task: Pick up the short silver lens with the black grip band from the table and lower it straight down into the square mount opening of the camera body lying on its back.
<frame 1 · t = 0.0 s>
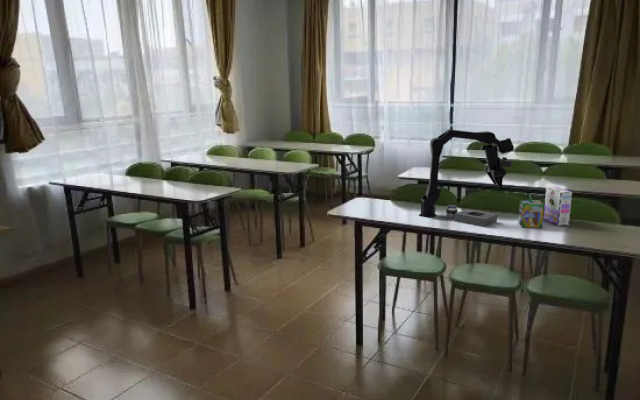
hand: (498, 186, 247), 15 cm above the table, tool pointing down, fingers open, 9 cm apart
lens: (451, 217, 249), on the table
camera body: (475, 221, 241), on the table
chalk box: (529, 225, 233), on the table
candy box: (555, 222, 238), on the table
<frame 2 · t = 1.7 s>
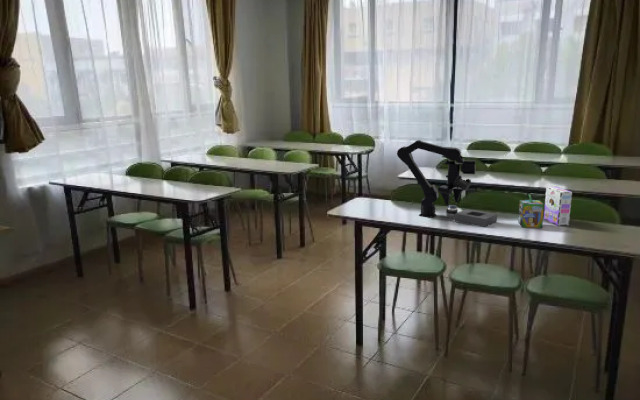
hand: (451, 203, 248), 7 cm above the table, tool pointing down, fingers open, 9 cm apart
nothing on the table moved.
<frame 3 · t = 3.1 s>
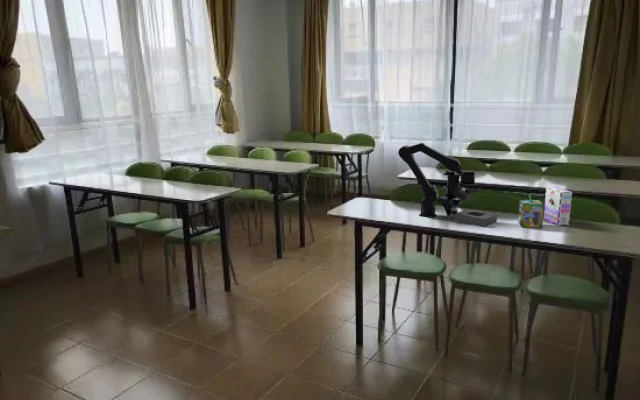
hand: (451, 214, 249), 2 cm above the table, tool pointing down, fingers closed on lens, 6 cm apart
lens: (451, 217, 249), on the table, touching gripper
everything else where it was.
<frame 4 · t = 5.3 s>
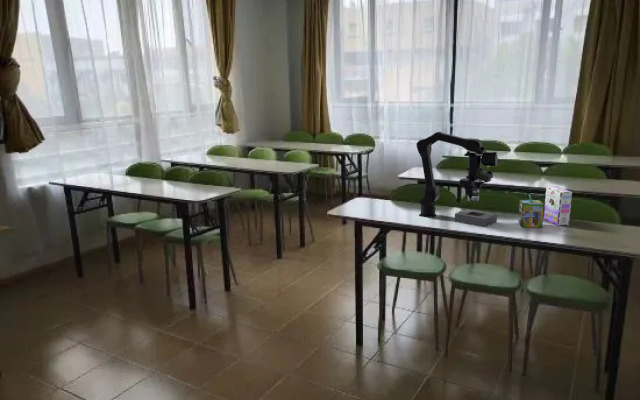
hand: (473, 197, 239), 12 cm above the table, tool pointing down, fingers closed on lens, 6 cm apart
lens: (473, 200, 240), point 10 cm above the table, touching gripper
everything else where it was.
when the fingers open (4 cm above the table, at t = 7.6 s): lens drops 1 cm, resting on camera body.
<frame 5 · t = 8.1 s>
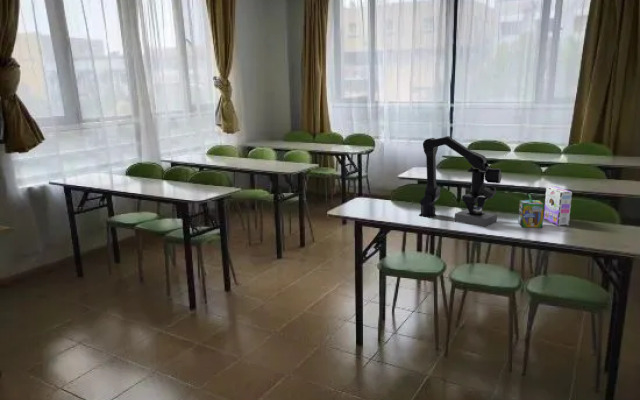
hand: (475, 212, 240), 4 cm above the table, tool pointing down, fingers open, 9 cm apart
lens: (475, 218, 240), point 2 cm above the table, touching camera body
everything else where it was.
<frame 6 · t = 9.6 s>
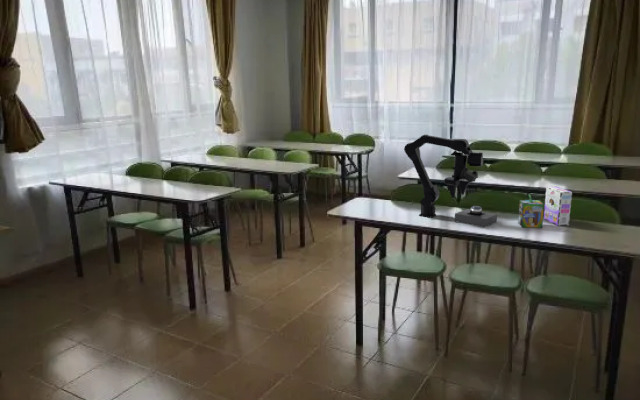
hand: (457, 196, 244), 12 cm above the table, tool pointing down, fingers open, 9 cm apart
nothing on the table moved.
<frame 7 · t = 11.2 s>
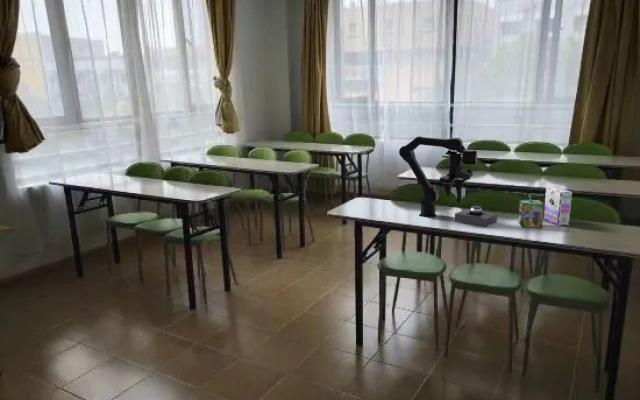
hand: (453, 194, 245), 12 cm above the table, tool pointing down, fingers open, 9 cm apart
nothing on the table moved.
at the end: lens 0.0 cm off-centre on the camera body, point 1.5 cm above the camera body's base; lens tilted 1°; the gripper is holding nothing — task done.
